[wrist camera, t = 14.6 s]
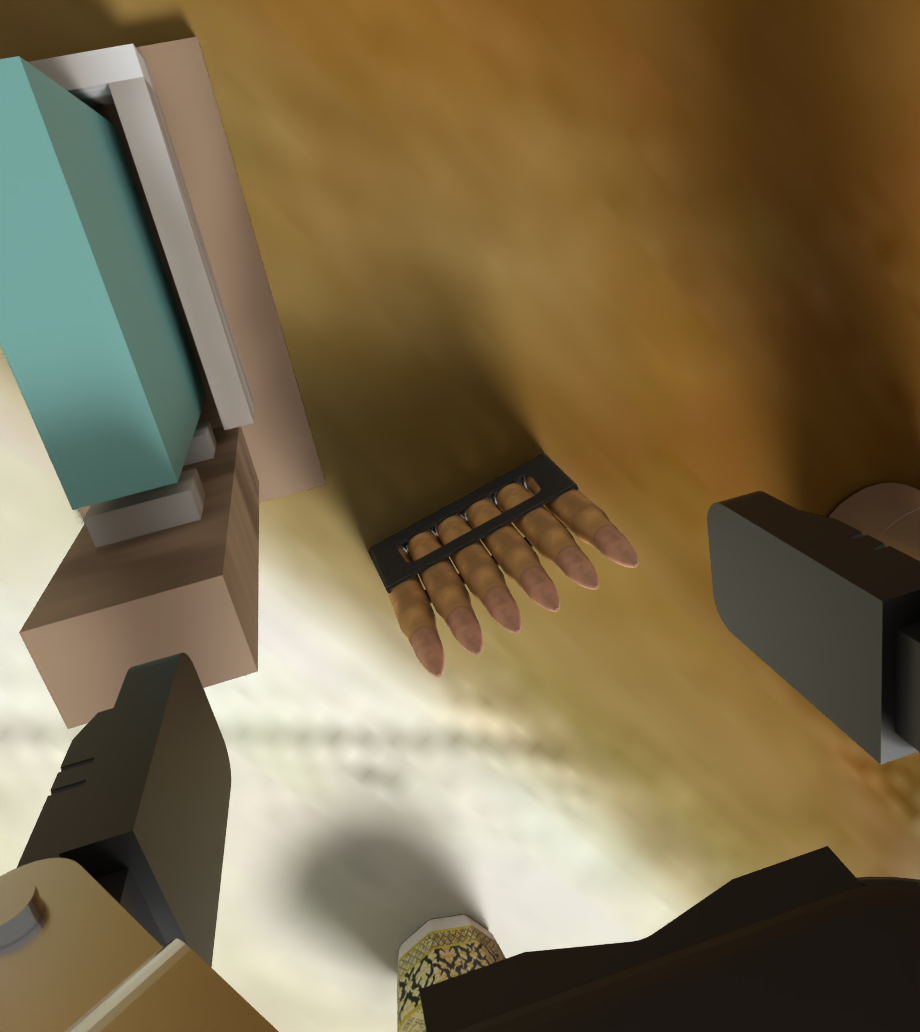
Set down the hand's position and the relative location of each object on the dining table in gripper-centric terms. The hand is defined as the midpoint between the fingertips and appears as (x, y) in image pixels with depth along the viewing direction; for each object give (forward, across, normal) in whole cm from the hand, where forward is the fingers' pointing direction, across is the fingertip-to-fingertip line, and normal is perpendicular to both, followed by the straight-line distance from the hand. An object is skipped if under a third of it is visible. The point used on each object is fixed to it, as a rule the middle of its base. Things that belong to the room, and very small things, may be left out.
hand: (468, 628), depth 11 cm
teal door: (+25, +8, -6) cm, 27 cm away
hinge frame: (+26, +8, -4) cm, 28 cm away
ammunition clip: (+27, -4, +9) cm, 29 cm away
